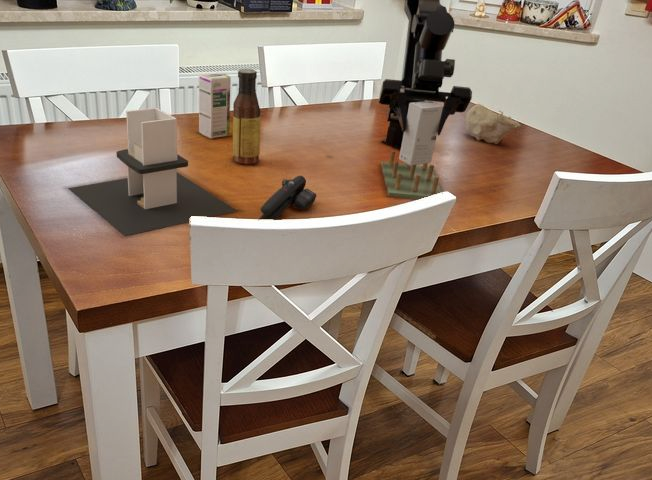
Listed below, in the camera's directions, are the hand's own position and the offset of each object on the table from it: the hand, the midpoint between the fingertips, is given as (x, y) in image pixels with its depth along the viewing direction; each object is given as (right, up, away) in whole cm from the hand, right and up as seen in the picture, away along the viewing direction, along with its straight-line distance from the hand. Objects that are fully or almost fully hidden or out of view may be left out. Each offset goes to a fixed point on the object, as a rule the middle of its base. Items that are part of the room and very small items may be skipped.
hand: (421, 132), depth 137 cm
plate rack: (0, -8, +11) cm, 14 cm away
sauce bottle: (-38, -2, +15) cm, 41 cm away
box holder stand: (-55, -16, -8) cm, 58 cm away
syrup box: (-47, +9, +30) cm, 56 cm away
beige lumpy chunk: (+29, +12, +44) cm, 54 cm away
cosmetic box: (0, -5, +5) cm, 7 cm away
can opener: (-29, -19, -8) cm, 36 cm away
